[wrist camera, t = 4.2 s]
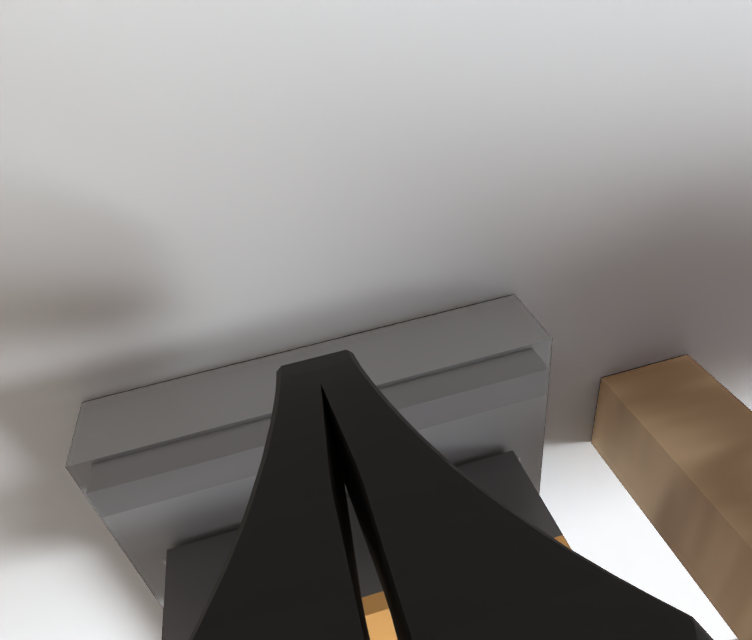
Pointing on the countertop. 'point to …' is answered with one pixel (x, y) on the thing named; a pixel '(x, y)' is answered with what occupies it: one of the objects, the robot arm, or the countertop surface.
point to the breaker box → (254, 410)
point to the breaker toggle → (207, 556)
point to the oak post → (687, 472)
